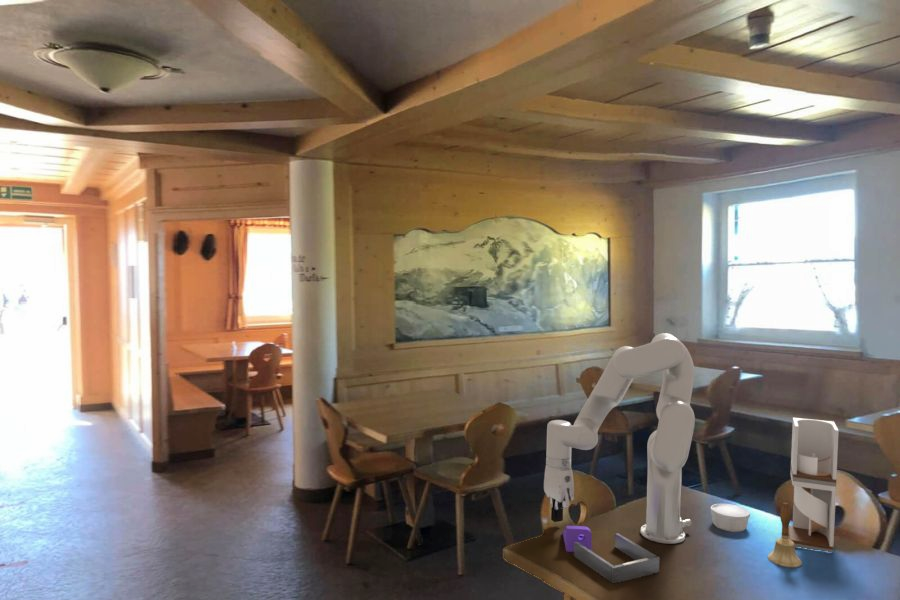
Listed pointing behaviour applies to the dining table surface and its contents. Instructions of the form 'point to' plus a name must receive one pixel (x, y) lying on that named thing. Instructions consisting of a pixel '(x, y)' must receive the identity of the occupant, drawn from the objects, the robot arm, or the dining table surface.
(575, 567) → the dining table surface
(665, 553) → the dining table surface
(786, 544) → the hand bell
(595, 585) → the dining table surface
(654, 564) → the tray
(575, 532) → the bracket
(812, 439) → the display case
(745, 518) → the ramekin
